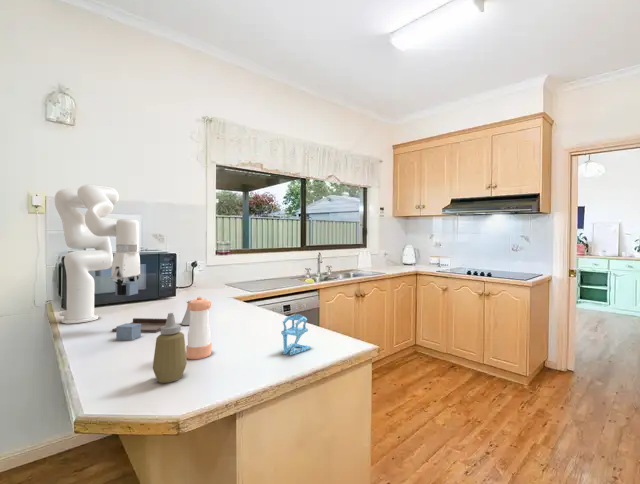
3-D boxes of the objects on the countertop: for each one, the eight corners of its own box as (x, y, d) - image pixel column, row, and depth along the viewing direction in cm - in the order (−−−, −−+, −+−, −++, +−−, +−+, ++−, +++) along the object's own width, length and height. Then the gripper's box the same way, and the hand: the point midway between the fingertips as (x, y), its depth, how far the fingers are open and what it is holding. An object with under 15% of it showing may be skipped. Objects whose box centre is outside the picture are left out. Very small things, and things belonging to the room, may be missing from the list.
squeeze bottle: (162, 373, 96) (163, 310, 96) (191, 372, 97) (192, 309, 97) (145, 385, 88) (146, 316, 88) (177, 384, 89) (178, 316, 89)
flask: (203, 321, 152) (203, 299, 152) (193, 326, 145) (193, 302, 145) (188, 321, 153) (188, 299, 153) (177, 325, 146) (177, 302, 146)
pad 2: (116, 340, 125) (116, 326, 125) (125, 336, 130) (125, 323, 130) (131, 340, 125) (132, 326, 125) (140, 336, 130) (141, 323, 130)
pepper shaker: (185, 360, 105) (186, 299, 106) (186, 353, 112) (187, 295, 112) (211, 357, 109) (212, 297, 109) (210, 350, 115) (211, 294, 115)
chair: (277, 353, 113) (277, 317, 113) (292, 345, 121) (292, 312, 121) (296, 356, 110) (297, 319, 110) (310, 348, 118) (311, 314, 118)
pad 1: (115, 295, 135) (115, 282, 135) (124, 293, 140) (124, 281, 140) (129, 295, 135) (129, 283, 135) (138, 293, 139) (138, 281, 139)
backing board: (112, 331, 136) (112, 325, 136) (134, 323, 148) (134, 318, 148) (155, 332, 135) (156, 326, 135) (174, 324, 147) (174, 318, 147)
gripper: (134, 248, 146) (133, 290, 146) (100, 250, 129) (100, 297, 129) (151, 248, 146) (150, 290, 146) (119, 250, 129) (119, 298, 129)
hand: (126, 293), depth 137 cm, fingers closed on pad 1, 4 cm apart
